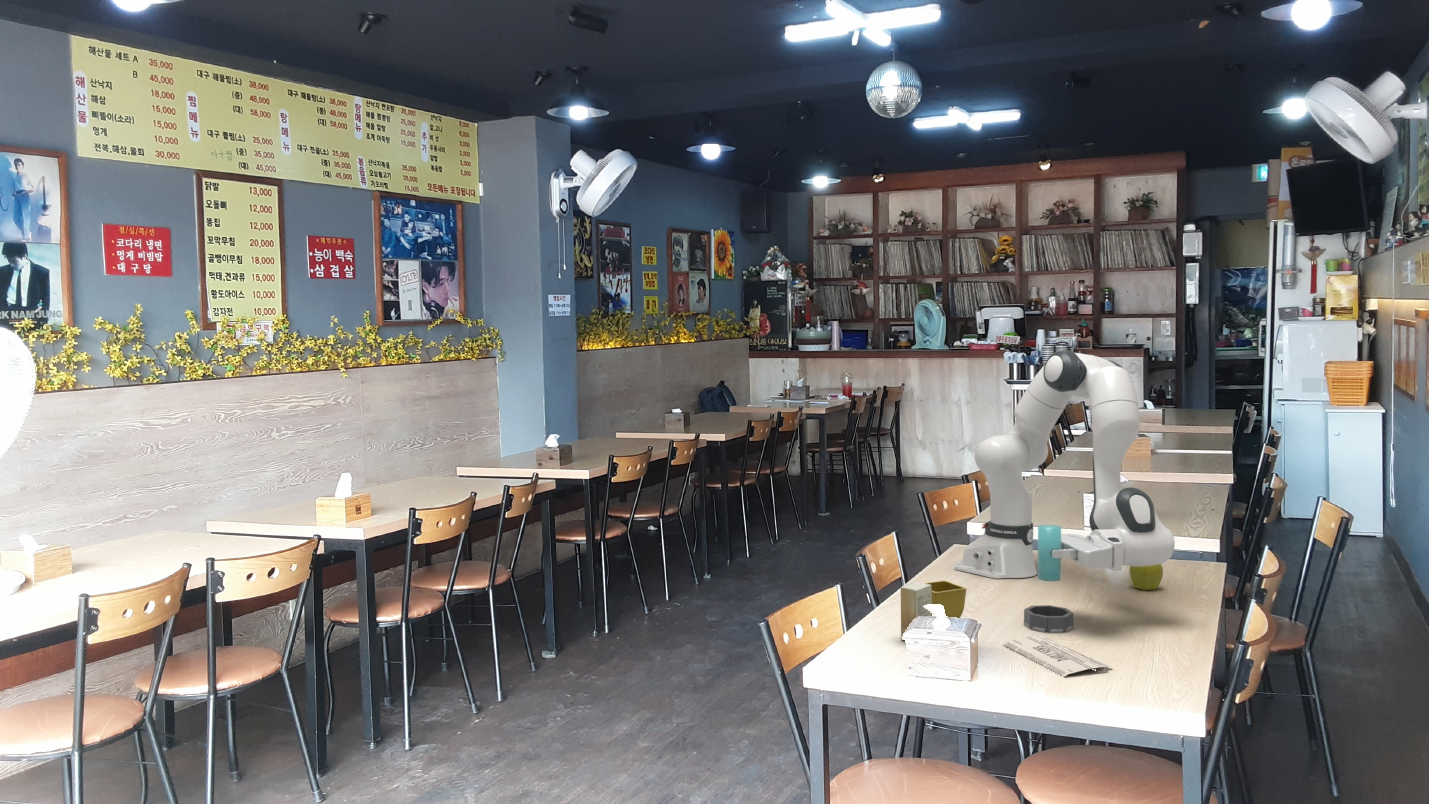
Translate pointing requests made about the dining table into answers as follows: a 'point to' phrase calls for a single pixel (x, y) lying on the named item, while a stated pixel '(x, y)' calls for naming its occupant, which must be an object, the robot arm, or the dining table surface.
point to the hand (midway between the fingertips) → (1045, 550)
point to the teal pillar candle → (1046, 541)
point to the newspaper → (1054, 655)
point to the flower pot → (949, 597)
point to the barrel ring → (1048, 618)
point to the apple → (1146, 576)
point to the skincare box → (914, 602)
